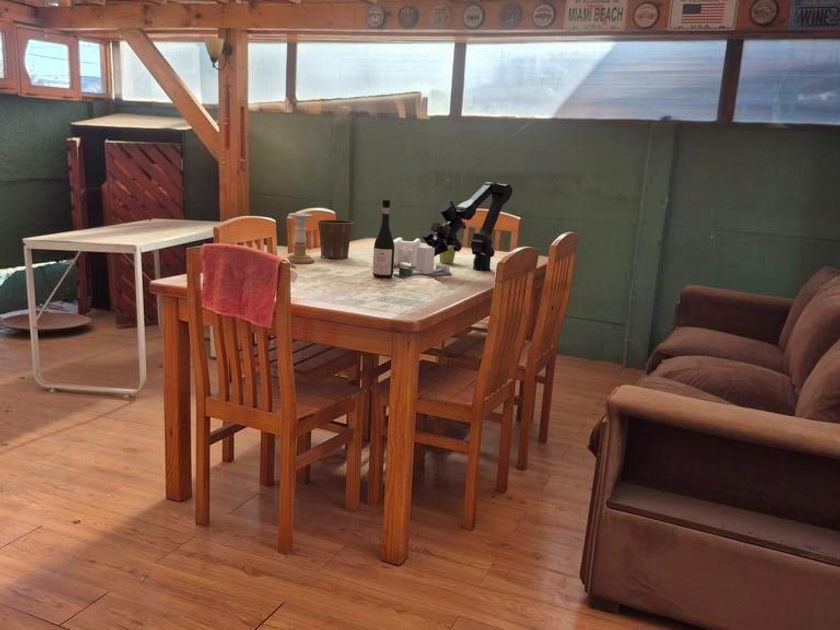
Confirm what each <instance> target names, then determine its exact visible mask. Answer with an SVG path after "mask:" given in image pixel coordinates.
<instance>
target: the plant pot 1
mask: <svg viewBox="0 0 840 630" xmlns="http://www.w3.org/2000/svg"><path fill="white" fill-rule="evenodd" d="M316 221H317V225H318V231H319V243H320V244H319V245H320V256H321V257H322V256H324V257H328V258H327V259H331V258H333V259H339V258H342V259H347V258H349V251H350V242H351V233H352V229H353V225H354V223H355V222H354V221H350V220H345V219H344V220H342V219H341V220H340V219H321V220H320V219H318V220H316ZM324 257H323V258H324Z"/></svg>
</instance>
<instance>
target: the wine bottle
mask: <svg viewBox="0 0 840 630" xmlns="http://www.w3.org/2000/svg"><path fill="white" fill-rule="evenodd" d="M381 203H382V217H381V218H382V219H381V225H380V229H379V232H378V234H377V235H376V238H375V241H374V245H373V256H372V257H373V258H372V259H373V260H372V275H373V277H375V278H379V279H390V278H392V277H394V276H393V274H394V267H395V266H394V238H393V235H392V233H391V229H390V206H391V200H390V199H382V202H381Z"/></svg>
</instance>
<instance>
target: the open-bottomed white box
mask: <svg viewBox="0 0 840 630" xmlns="http://www.w3.org/2000/svg"><path fill="white" fill-rule="evenodd" d="M434 252H435V248H433V247H432V246H427V245H426V246H425V245H423V246H422V245H421V246H420V247H417V260H416V267H415V271H422V274H430V273H433V270H434V269H435V267H434V265H435V257H434Z"/></svg>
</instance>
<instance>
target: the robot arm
mask: <svg viewBox="0 0 840 630" xmlns="http://www.w3.org/2000/svg"><path fill="white" fill-rule="evenodd" d="M512 194H513V188H512V186H511V185H510V184H509V183H508V184H507V183H495V182H489V181H486V182H484V184H483V185H482V186H481V187H480V188H479V189H478V190H477V191H476V192H475V193H474V194H473V195H472V196H471V197H470V198H469V199H468V200H465V201H463V202H461V203H459V204H458V205H457V206H455V205H454V203H453V201H452V200H447V201H446V202H443V203H441V204H439V206H438V207H437V211H438V212H439V215H440V216H441V217H442V219H443V220H444V222H443V223H440V222H432V223H431V226H430V229H429V230H430V231H433V232H435V233H434V234H433V233H430V232H423V234H422V236H421V237H422V239H423V240H424V242H425V244H426V246H427V245H428V246H427V247H433V248H435V252H434V258H435V257H436V256H438V255H439V254H441V253H443V252H446V251H449V249H448V248H449V247H451V246H455V247H454V251H456V252H457V253H459V252H460V251H461V250H462V247H463V246H462V243H461V242H460V240H459V239H458V232H459V231H460V230H461V229H462V230H466V228H467V226H466V222H465V221H470V220H472V219H473V217H474V216H475V215H476V213H477V209H478V208H479V207H480V206H481V205H482V204H483V203H484V202H485V201H486V200H487V199H488V198H489V197H490V196H491V204H490V206H489V209H488V211H487V214H486V217H485V218H484V221H483V224H482V226H481V229H480V231H479V232H474V233H473V236H472V238H471V240H470V247H471V248H470V249H471V254H472V255H474V258H473V264H472V269H474V268H475V269H474V270H476V269H477V270H476V271H492V269H491V258H492V257H495V253H496V252H495V250H494V248H493V246H492V245H493V244H492V243H493V239H492V235H493V231H494V228H495V227H496V224H497V221H498V219H499V216H500V213H501V211H502V208H503V206H504V205H505V204H506V203H507V202H508V201H509V200H510V198H511V197H512ZM463 220H464V221H463ZM445 222H447V223H445ZM439 256H440V255H439Z"/></svg>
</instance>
